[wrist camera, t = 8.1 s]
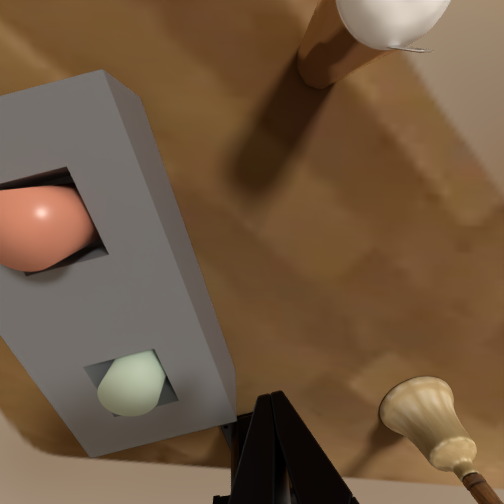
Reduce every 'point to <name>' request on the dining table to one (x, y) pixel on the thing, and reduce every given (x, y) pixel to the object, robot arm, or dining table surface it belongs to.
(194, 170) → the dining table surface
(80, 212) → the terracotta plug
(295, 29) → the dining table surface
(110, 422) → the console
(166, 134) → the dining table surface
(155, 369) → the sage plug
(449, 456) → the hand bell
